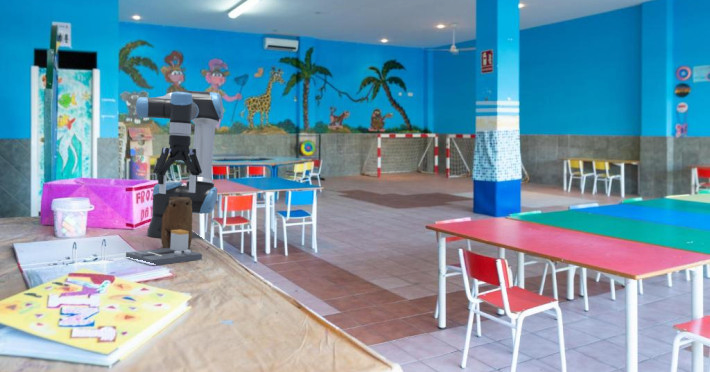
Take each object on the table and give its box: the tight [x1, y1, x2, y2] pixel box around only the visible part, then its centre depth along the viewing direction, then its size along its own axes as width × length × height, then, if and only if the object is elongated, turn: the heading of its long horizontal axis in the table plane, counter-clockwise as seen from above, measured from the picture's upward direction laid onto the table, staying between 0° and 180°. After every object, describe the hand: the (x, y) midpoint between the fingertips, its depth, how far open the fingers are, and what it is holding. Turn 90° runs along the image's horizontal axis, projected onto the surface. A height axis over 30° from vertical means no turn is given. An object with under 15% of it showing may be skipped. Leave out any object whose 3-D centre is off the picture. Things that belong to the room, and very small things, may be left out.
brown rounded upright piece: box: [160, 196, 193, 249], centre depth 228 cm, size 11×8×20 cm
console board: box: [125, 247, 203, 266], centre depth 208 cm, size 20×16×4 cm
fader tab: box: [170, 229, 189, 251], centre depth 212 cm, size 4×5×7 cm
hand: (177, 193), depth 215 cm, fingers open, 13 cm apart
